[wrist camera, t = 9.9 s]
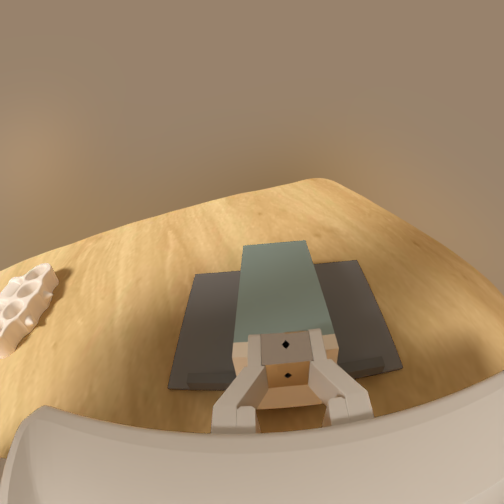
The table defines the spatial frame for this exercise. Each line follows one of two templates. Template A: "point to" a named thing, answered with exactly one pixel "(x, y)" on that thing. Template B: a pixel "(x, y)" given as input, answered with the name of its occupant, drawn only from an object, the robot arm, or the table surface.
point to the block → (280, 309)
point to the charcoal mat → (224, 316)
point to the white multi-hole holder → (24, 305)
